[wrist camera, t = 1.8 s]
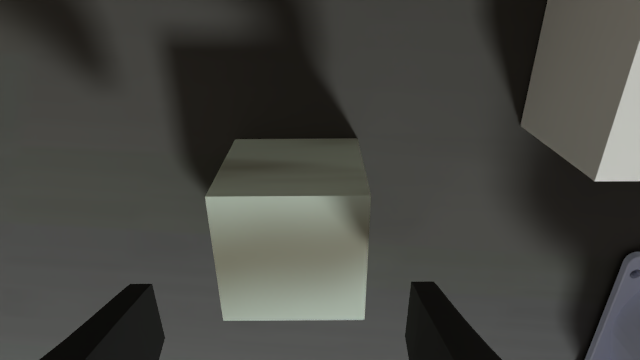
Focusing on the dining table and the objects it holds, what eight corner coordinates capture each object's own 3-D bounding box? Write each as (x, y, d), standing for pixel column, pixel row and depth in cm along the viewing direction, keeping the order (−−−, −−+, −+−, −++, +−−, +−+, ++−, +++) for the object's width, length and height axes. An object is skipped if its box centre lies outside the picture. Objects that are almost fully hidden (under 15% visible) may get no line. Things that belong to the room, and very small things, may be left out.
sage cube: (353, 239, 19) (364, 319, 15) (246, 240, 19) (223, 320, 15) (357, 137, 17) (371, 195, 12) (235, 138, 17) (205, 196, 12)
